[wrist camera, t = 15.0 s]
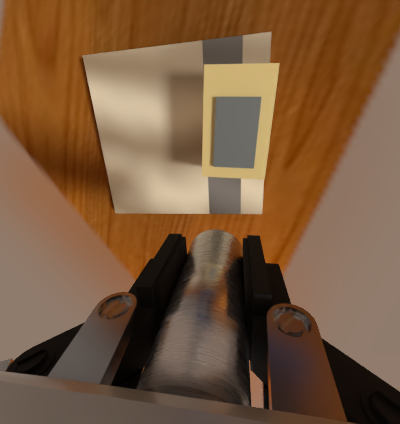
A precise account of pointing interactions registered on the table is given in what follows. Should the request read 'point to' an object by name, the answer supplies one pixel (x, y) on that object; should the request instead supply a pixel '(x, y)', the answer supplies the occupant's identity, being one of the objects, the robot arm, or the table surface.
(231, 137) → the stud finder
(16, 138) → the table surface
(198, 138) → the white square mat
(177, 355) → the steel pin
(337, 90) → the table surface
